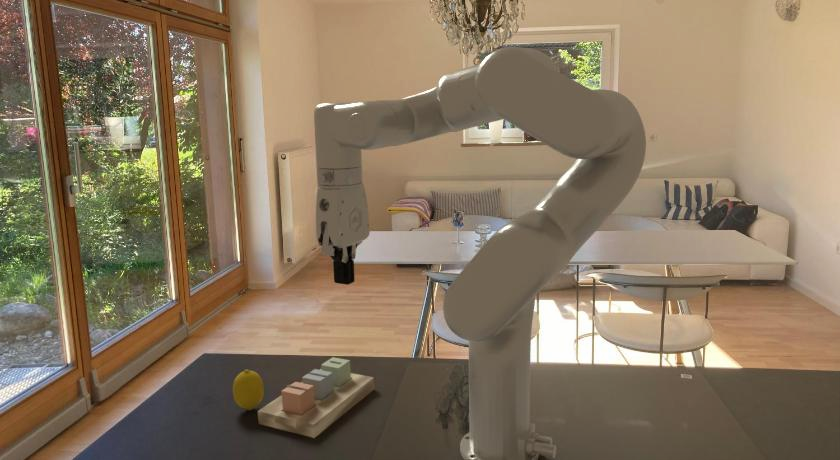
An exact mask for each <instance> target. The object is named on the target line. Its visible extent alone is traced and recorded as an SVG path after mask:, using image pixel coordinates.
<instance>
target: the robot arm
mask: <svg viewBox="0 0 840 460" xmlns="http://www.w3.org/2000/svg"><path fill="white" fill-rule="evenodd" d="M313 113H314V114H313V123H314V140H315V141H314V142H315V162H316V164H315V165H316V179H317V181H316V183H317V192H316V201H315V202H316V203H315V204H316V205H315V233H316V241H317V244H318V245H319V246H320V247H321V255H322V256H328V257H330V260H331V262H332V265H333V282H334V283H335V284H340V285H341V284H342V285H348V286H349V285H351V284H352V283H355V259H356V253H357V252H356V251H357V248H358V246H360V245H361V244H362V243H363V241H365V240H367V239H368V237H369V236H370V232H371V231H370V215H369V207H368V206H369V205H368V199H367V198H368V197H367V193H366V189H365V185H364V183H363V161H362V150H365V151H367V150H369V151H371V150H378V149H383V148H389V147H397V146H403V145H407V144H410V143H414V142H415V143H416V142H418V141H422V140H425V139H430V138H434V137H438V136H441V135H443V134H449V133H457V132H460V131H464V130H468V129H471V128H475V127H480V126H482V125H486V124H487V125H488V124H490V123H494V122H497V121H502V120H505V121H506V122H507V123H509V124H511V125H512V126H514V127H515V128H518V129H519V130H521V131H522V132H524V133H526V134H528V135H529V136H530V137H533V138H534V139H535V140H537V141H539V142H541V143H542V144H543V145H546V146H547V147H549V148H550V149H552V150H554V151H555V152H558V153H560V154H561V155H563V156H566V157H567V158H571V159H576V160H575V161H574V162H573V163H572V164H571V166H570V167H569V168H568V169H567V170H566V171H565V172H564V173H563V174H562V175H561V176H560V177H559V178H558V179H557V180H556V182H555V183H554V185H553V186H552V187H551V188H550V190H549V191H548V192H547V193H546V194H545V195H544V196H543V197H542V198H541V200H540V201H539V202H538V203H537V204H536V205H534V207H533V208H532V209H531V210H529V211H528V212H525V213H524V214H522V215H520V216H519V217H517V218H514V219H512V220H511V221H509V222H507V223H506V224H503V226H501V227H500V228H499V229H498V230H497V231H495V232H494V233H493V235H491V236H490V237H489V239H487V241H486V242H485V243H483V245H482V247H481V248H480V249H479V250H478V251H477V252H476V254H475V255H474V256H473V257H472V258H471V260H469V262H467V265H466V266H465V267H464V268H463V269H462V270H461V271H460V272H459V273H458V275H457V276H456V277H455V279H454V280H453V281H451V283H450V285H449V286H448V287H447V289H446V292H445V293H444V297H443V300H442V301H443V303H442V313H443V317H444V320H445V323H446V325H447V326H448V328H449V330H450V331H451V332H452V333H454V335H456V336H457V337H459V338H461V339H462V340H465V341H468V406H469V407H468V409H469V410H468V415H469V416H468V418H469V419H468V420H469V422H468V423H469V428H468V429H469V431H468V432H467V433H466V434H464V436H463V437H462V438H461V440H460V443H459V452H460V455H461V457H462V459H463V460H538V459H539V457H540V456H542V457H546V458H551V459H555V457H556V453H557V445H555V444H553V437H550V436H545V435H539V433H537V432H536V424H535V423H532V422H531V421H530V420H531V419H530V416H531V415H530V414H531V411H530V410H531V409H530V407H531V349H532V347H531V346H532V345H531V344H532V343H531V342H532V331H533V330H532V328H533V321H534V313H535V305H536V295H537V294H538V293H540V291H541V290H543V288H545V286H547V284H548V283H549V282H550V281H551V280H552V279H554V278H555V277H557V275H558V274H559V273H561V272H562V271H563V270H564V269H565V268H566V267H567V266H568V265H569V263H570V262H571V260H572V259H573V258H574V256H575V255H576V254H577V252H578V251H580V249H581V248H582V247H583V245H584V244H586V242H587V241H588V240H589V239H590V238H591V237H592V236H593V235H594V234H595V233H596V232H597V231H598V229H599V228H601V226H603V224H604V222H605V221H606V220H607V219H608V218H609V217H610V216H611V215H612V214H613V213H614V212H615V211H616V209H617V208H618V207H619V206H620V205H621V204H622V202H623V201H624V200H625V199H626V198H627V197H628V195H629V194H630V192H631V191H632V189H633V187H634V185H635V184H636V182H637V180H638V178H639V177H640V174H641V171H642V169H643V166H644V162H645V159H646V149H647V138H646V132H645V127H644V123H643V120H642V118H641V115H640V114H639V111H638V109H637V108H636V106H635V105H634V103H633V101H631V100H630V99H629V98H627V97H626V96H625V95H624V94H622V93H620V92H618V91H615V90H611V89H591V88H589V87H587V86H585V85H583V84H581V83H580V82H577V81H576V80H574V79H573V78H570V77H568V76H566V75H564V74H562V73H561V72H559V70H558V68H557V66H556V64H555V63H554V61H553V60H552V58H551V57H550V56H549V55H547V54H546V53H545V52H542V51H541V50H538V49H533V48H526V47H519V46H505V47H501V48H499V49H495V50H494V51H493V52H491V53H490V54H488V55H487V56H486V57H485V58H484V59H483V60H482V61H481V63H478V64H473V65H471V66H468V67H464V68H461V69H459V70H454V71H451V72H448V73H446V74H444V75H442V76H441V77H440V79H439V80H438V83H437V86H435V87H433V88H431V89H428V90H426V91H423V92H420V93H416V94H412V95H410V96H406V97H403V98H399V99H392V100H391V99H387V100H385V99H384V100H383V99H381V100H368V101H367V100H366V101H359V102H323V103H319V104H317V105H316V107H315V108H314V112H313Z"/></svg>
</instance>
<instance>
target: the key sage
mask: <svg viewBox="0 0 840 460" xmlns="http://www.w3.org/2000/svg"><path fill="white" fill-rule="evenodd" d="M320 369H321V370H323V371H328V372H333V386H336V387H341V386H343V385H344V384H345V383H347V382H348V381H349V380H351V373H352V372H351V371H352V370H351V360H350V359H345V358H340V357H334V356H332V357H331V358H330V359H328V360H326V361H325V362H323V363H322V364H321V365H320Z"/></svg>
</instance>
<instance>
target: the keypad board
mask: <svg viewBox="0 0 840 460" xmlns="http://www.w3.org/2000/svg"><path fill="white" fill-rule="evenodd" d="M319 370H321V368H320V369H319ZM300 383H302V381H301V382H300ZM333 388H334V392H333V393H332V394H330V395H329V396H328V397H326V398H325V399H324V400H322V401H320V400H315V399H314V400H315V406H314V407H313V408H311V409H310V410H309V411H307V412H306V413H305V414H303V415H302V416H300V415H296V414H292V413H288V412H284V411H283V405H282V394H281V395H279V396H278V397H277V398H275V399H274V400H272V401H271V402H269V403H268V404H265V406H263V407H261V408H259V409H258V410H257V420H258V425H260V426H261V425H262V426H265V427H270V428H272V429H278V430H281V431H284V432H289V433H293V434H295V435H296V434H297V435H301V436H304V437H308V438H311V439H315V438H316V437H317V436H319V435H320V434H322V433H323V432H324V431H325V430H326V429H328V428H329V427H330V426H331V425H333V423H335V422H337V420H338V419H340V418H341V417H342V416H343V415H345V414H346V413H347V412H348V411H350V410H351V409H352V408H353V407H354V406H356V405H357V404H358V403H359V402H361V401H362V400H363V399H364V398H366V396H369V394H370V393H372V392H373V391H374V390H375V378H374V377H373V376H370V375H369V376H368V375H363V374H358V373H353V372H351V380H349V381H348V382H347V383H345V384H344V385H343V386H341V387H336V386H333Z"/></svg>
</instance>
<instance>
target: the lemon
mask: <svg viewBox="0 0 840 460" xmlns="http://www.w3.org/2000/svg"><path fill="white" fill-rule="evenodd" d="M264 387H265V386H264V383H263V379H262V377H261V376H260V375H259V374H258V373H257V372H256V371H254V370H249V369H244V371H242V372H240V373H239V374H238V375H237V376H236V377H235V379H234V381H233V383H232V395H233V400H234V402H235V403H236V404H237V405H238V406H239V407H240V408H243V409H244V410H245V409H246V410H248V411H252V410H253V409H254V408H255V407H257V406H258V405H259V404H261V402H262V400H263V398H264V393H265V389H264Z"/></svg>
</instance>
